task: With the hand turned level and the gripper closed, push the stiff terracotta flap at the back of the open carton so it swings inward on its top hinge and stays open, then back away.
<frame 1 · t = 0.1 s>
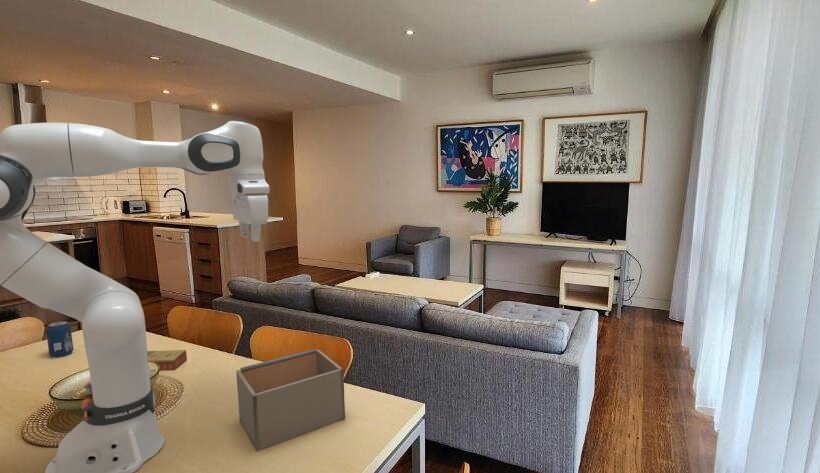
hand: (250, 239, 111), 48 cm above the table, tool pointing down, fingers open, 8 cm apart
video game controller: (104, 397, 126), on the table
blue can: (61, 355, 156), on the table
flap: (281, 381, 118), point 8 cm above the table, hinge at 0.0°
open carton: (292, 419, 113), on the table
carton: (158, 367, 146), on the table
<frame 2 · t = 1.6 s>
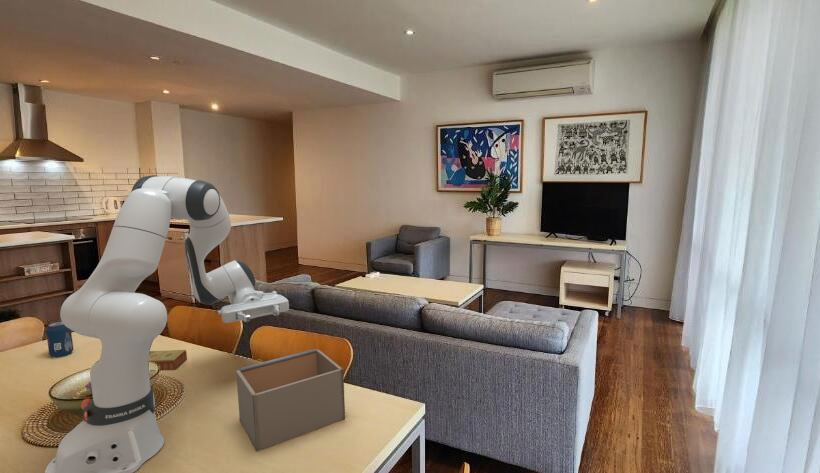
hand: (262, 315, 128), 22 cm above the table, tool horizontal, fingers open, 7 cm apart
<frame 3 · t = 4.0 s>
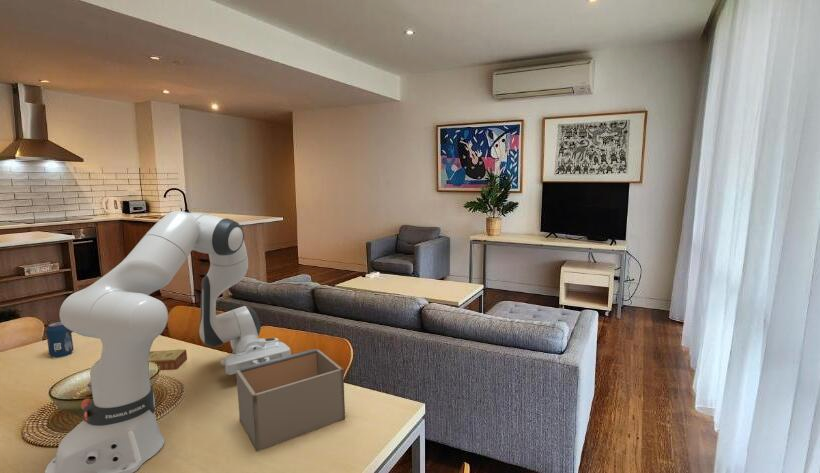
hand: (265, 367, 130), 6 cm above the table, tool horizontal, fingers closed
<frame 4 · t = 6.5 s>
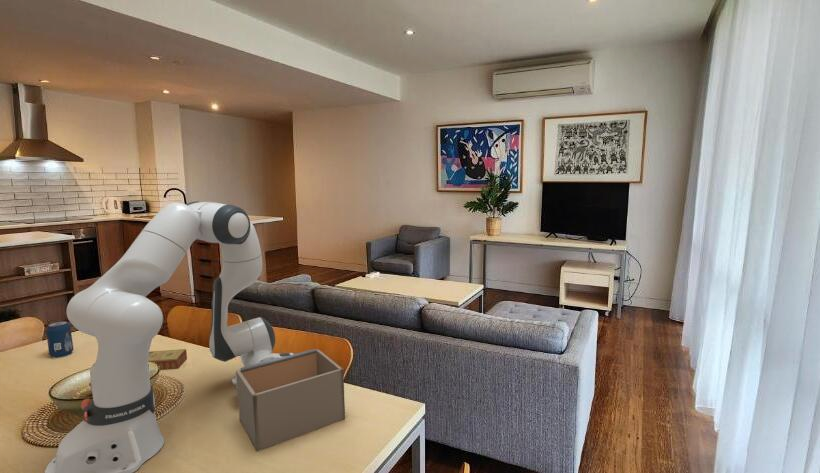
hand: (281, 387, 118), 6 cm above the table, tool horizontal, fingers closed, pressing on flap
flap: (281, 381, 118), point 8 cm above the table, hinge at 2.1°, touching gripper
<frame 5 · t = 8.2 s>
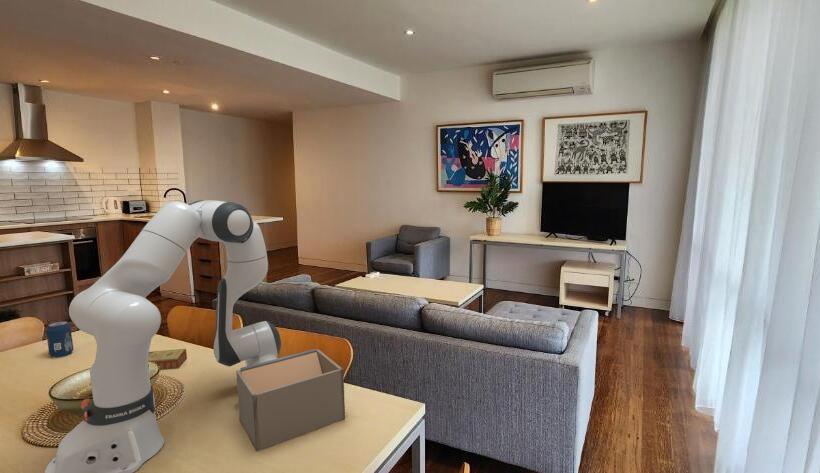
hand: (288, 393, 114), 6 cm above the table, tool horizontal, fingers closed, pressing on flap
flap: (285, 382, 115), point 9 cm above the table, hinge at 35.2°, touching gripper
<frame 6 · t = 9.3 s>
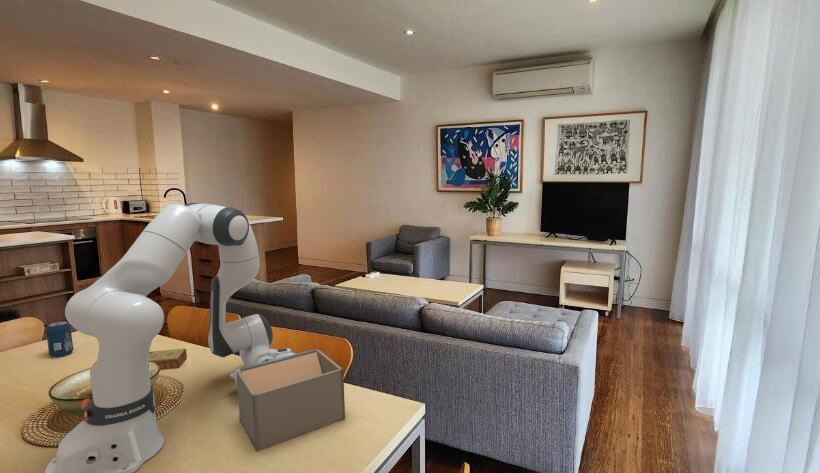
hand: (277, 381, 121), 6 cm above the table, tool horizontal, fingers closed
flap: (285, 382, 115), point 9 cm above the table, hinge at 35.3°
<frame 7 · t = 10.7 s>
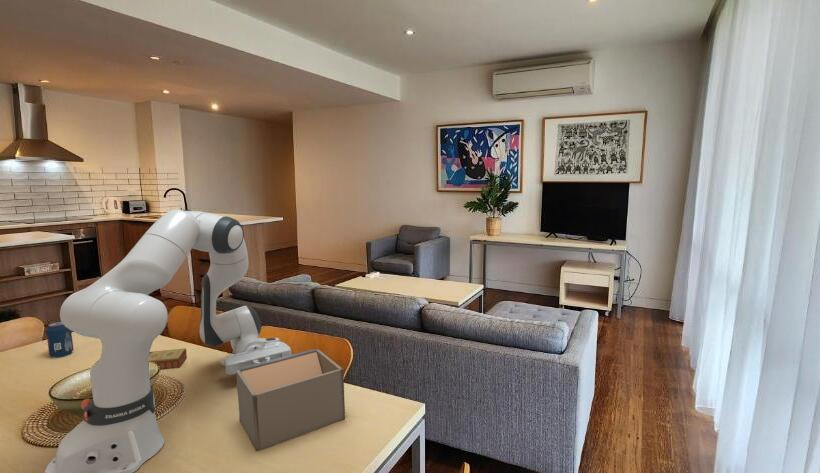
hand: (265, 367, 130), 6 cm above the table, tool horizontal, fingers closed
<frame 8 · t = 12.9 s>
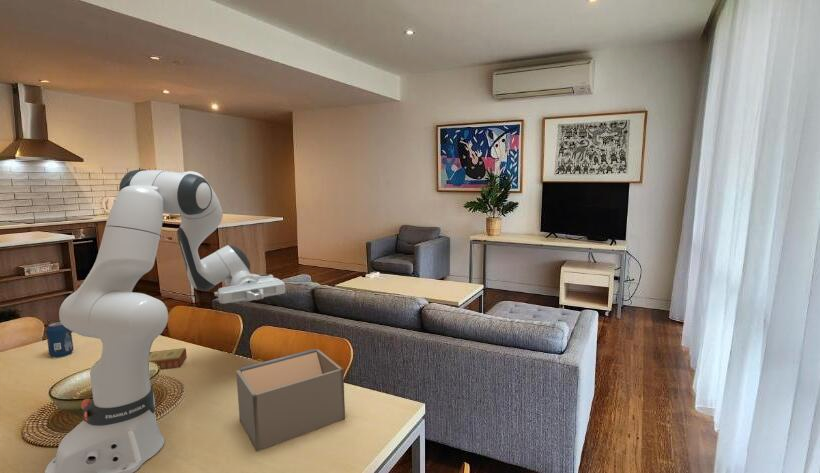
hand: (258, 296, 129), 28 cm above the table, tool horizontal, fingers closed
at the end: flap at +35° (first picture: +0°) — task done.
